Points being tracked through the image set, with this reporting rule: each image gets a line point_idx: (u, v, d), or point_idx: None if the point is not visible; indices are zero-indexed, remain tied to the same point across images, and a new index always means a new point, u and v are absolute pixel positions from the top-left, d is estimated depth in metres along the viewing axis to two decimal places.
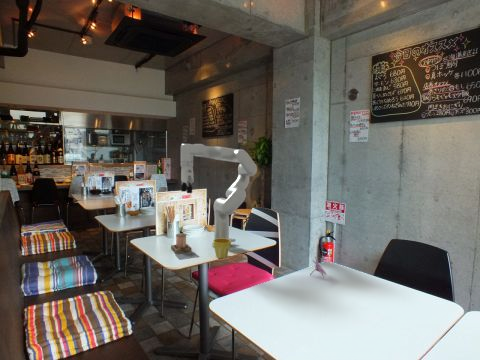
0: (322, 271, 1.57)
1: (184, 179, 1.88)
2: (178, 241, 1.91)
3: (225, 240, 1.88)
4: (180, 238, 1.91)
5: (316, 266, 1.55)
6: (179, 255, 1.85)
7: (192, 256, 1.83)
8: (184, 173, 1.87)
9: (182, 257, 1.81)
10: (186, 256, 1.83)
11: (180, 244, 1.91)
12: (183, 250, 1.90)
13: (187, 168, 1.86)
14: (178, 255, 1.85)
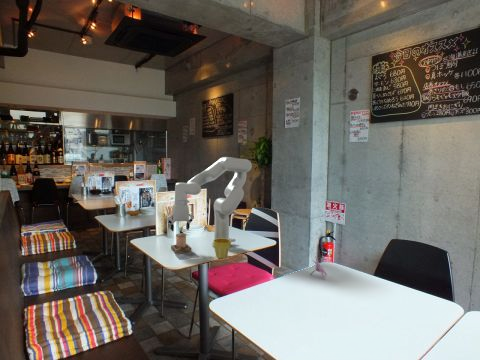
0: (322, 271, 1.57)
1: (184, 217, 1.92)
2: (178, 241, 1.91)
3: (225, 240, 1.88)
4: (180, 238, 1.91)
5: (316, 266, 1.55)
6: (179, 255, 1.85)
7: (192, 256, 1.83)
8: (185, 211, 1.91)
9: (182, 257, 1.81)
10: (186, 256, 1.83)
11: (180, 244, 1.91)
12: (183, 250, 1.90)
13: None
14: (178, 255, 1.85)
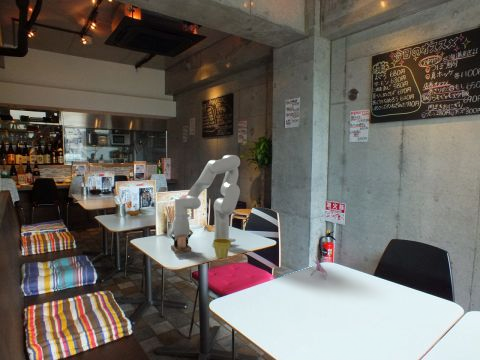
0: (323, 271, 1.58)
1: (185, 232, 1.93)
2: (178, 241, 1.91)
3: (225, 240, 1.88)
4: (180, 238, 1.91)
5: (317, 266, 1.55)
6: (179, 255, 1.85)
7: (192, 256, 1.83)
8: (186, 226, 1.92)
9: (182, 257, 1.81)
10: (186, 256, 1.83)
11: (180, 244, 1.91)
12: (183, 250, 1.90)
13: (188, 220, 1.94)
14: (178, 255, 1.85)
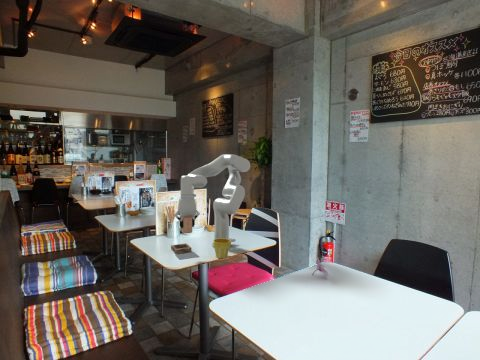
0: (324, 271, 1.58)
1: (191, 212, 1.81)
2: (184, 222, 1.80)
3: (225, 240, 1.88)
4: (186, 219, 1.80)
5: (318, 266, 1.55)
6: (179, 255, 1.85)
7: (192, 256, 1.83)
8: (192, 206, 1.81)
9: (182, 257, 1.81)
10: (186, 256, 1.83)
11: (186, 225, 1.80)
12: (183, 250, 1.90)
13: None
14: (178, 255, 1.85)
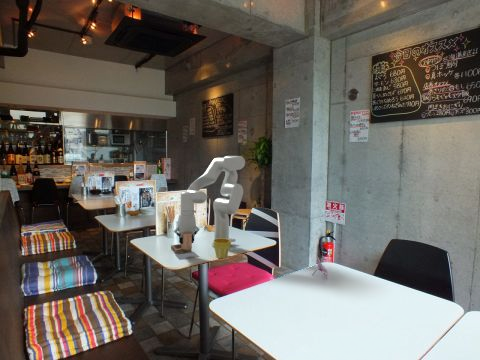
0: (324, 271, 1.58)
1: (191, 228, 1.82)
2: (184, 238, 1.81)
3: (225, 240, 1.88)
4: (186, 235, 1.80)
5: (319, 266, 1.55)
6: (179, 255, 1.85)
7: (192, 256, 1.83)
8: (192, 222, 1.82)
9: (182, 257, 1.81)
10: (186, 256, 1.83)
11: (186, 241, 1.81)
12: (183, 250, 1.90)
13: (194, 216, 1.83)
14: (178, 255, 1.85)
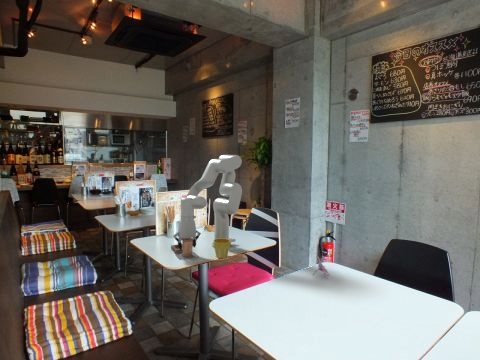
0: (325, 271, 1.58)
1: (191, 234, 1.82)
2: (184, 246, 1.81)
3: (225, 240, 1.88)
4: (186, 243, 1.81)
5: (319, 266, 1.55)
6: (179, 255, 1.85)
7: (192, 256, 1.83)
8: (192, 228, 1.82)
9: (182, 257, 1.81)
10: None
11: (186, 249, 1.81)
12: None
13: (194, 222, 1.84)
14: (178, 255, 1.85)
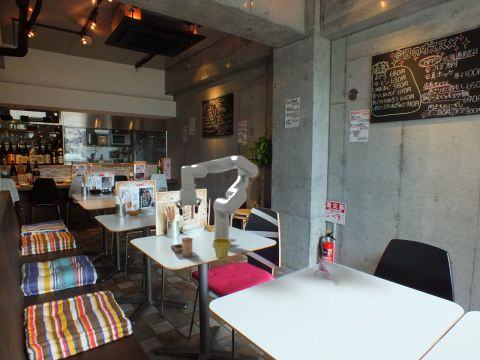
0: (325, 270, 1.58)
1: (193, 201, 1.89)
2: (184, 246, 1.81)
3: (225, 240, 1.88)
4: (186, 243, 1.81)
5: (320, 266, 1.55)
6: (179, 255, 1.85)
7: (192, 256, 1.83)
8: (193, 195, 1.89)
9: (182, 257, 1.81)
10: None
11: (186, 249, 1.81)
12: None
13: (195, 190, 1.90)
14: (178, 255, 1.85)
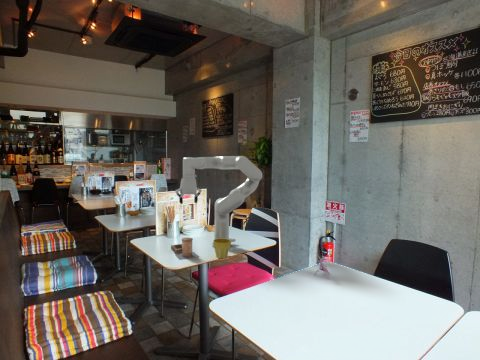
0: (326, 270, 1.58)
1: (193, 191, 2.00)
2: (184, 246, 1.81)
3: (225, 240, 1.88)
4: (186, 243, 1.81)
5: (321, 266, 1.55)
6: (179, 255, 1.85)
7: (192, 256, 1.83)
8: (193, 185, 1.99)
9: (182, 257, 1.81)
10: None
11: (186, 249, 1.81)
12: None
13: (195, 180, 2.01)
14: (178, 255, 1.85)
